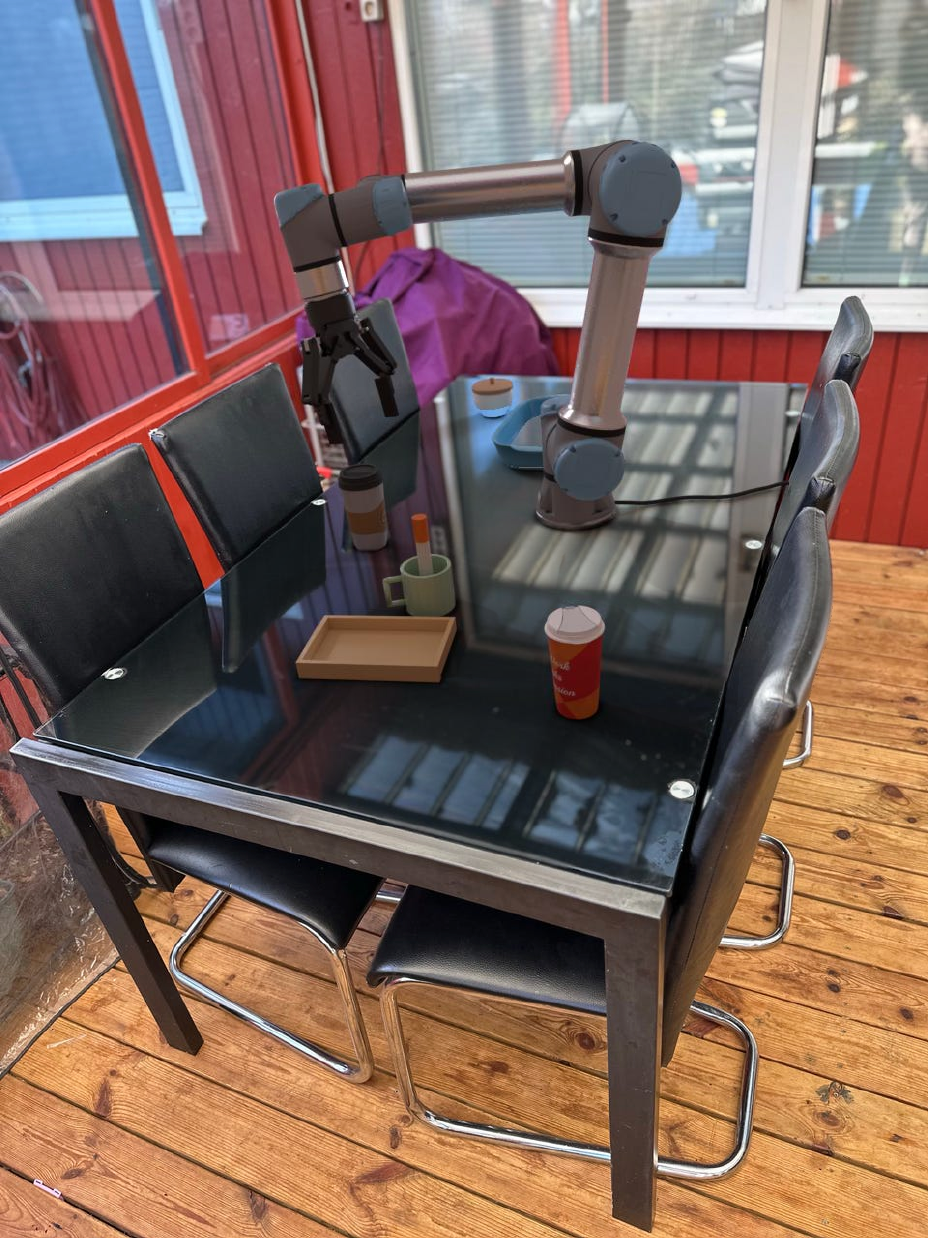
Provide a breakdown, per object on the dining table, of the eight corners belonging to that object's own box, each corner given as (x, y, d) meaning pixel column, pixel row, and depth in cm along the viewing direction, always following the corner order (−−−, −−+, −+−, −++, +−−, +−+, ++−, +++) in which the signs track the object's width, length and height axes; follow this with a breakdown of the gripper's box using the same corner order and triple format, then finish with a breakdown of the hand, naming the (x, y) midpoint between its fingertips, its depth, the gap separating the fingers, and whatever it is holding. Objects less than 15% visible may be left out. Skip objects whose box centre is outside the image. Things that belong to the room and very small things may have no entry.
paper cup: (544, 693, 123) (539, 607, 116) (599, 687, 123) (597, 600, 116) (554, 728, 116) (549, 638, 109) (611, 721, 117) (611, 631, 109)
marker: (439, 601, 147) (428, 513, 139) (436, 609, 145) (424, 519, 137) (425, 601, 147) (413, 513, 139) (422, 608, 145) (409, 520, 137)
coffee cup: (385, 554, 165) (374, 479, 157) (343, 554, 167) (330, 479, 159) (397, 534, 172) (387, 462, 164) (357, 534, 174) (344, 462, 166)
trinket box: (470, 421, 226) (467, 385, 221) (477, 408, 235) (474, 372, 230) (512, 420, 224) (509, 383, 219) (517, 406, 233) (515, 371, 228)
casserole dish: (583, 481, 186) (582, 449, 182) (482, 477, 193) (480, 446, 189) (615, 422, 215) (615, 393, 212) (527, 420, 222) (525, 392, 219)
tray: (457, 632, 139) (455, 617, 138) (439, 682, 128) (437, 666, 126) (327, 629, 144) (324, 615, 142) (298, 678, 132) (295, 662, 131)
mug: (451, 592, 150) (446, 550, 146) (459, 616, 143) (454, 573, 139) (385, 603, 149) (379, 561, 145) (390, 628, 142) (383, 584, 138)
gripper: (363, 281, 147) (397, 407, 156) (250, 318, 130) (295, 456, 139) (396, 274, 142) (429, 404, 151) (283, 312, 126) (328, 455, 134)
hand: (365, 429), depth 145 cm, fingers open, 13 cm apart
